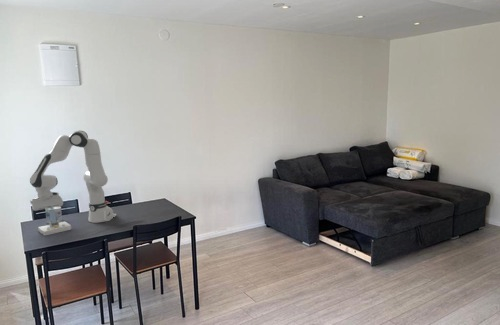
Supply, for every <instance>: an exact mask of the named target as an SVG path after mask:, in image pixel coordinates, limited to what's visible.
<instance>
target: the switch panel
mask: <svg viewBox="0 0 500 325" xmlns="http://www.w3.org/2000/svg"><path fill="white" fill-rule="evenodd" d="M56 222H57V225H55V226H52V223H51V222H49V223H48V224H46V225H42V226H37V228H38V232H39V233H40V234H42V235H43V236H49V235H53V234H57V233H62V232H67V231H71V230H72V225H71V224H70V223H68V222H66V221H62V222H59V221H58V220H57V221H56Z"/></svg>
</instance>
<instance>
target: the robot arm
mask: <svg viewBox="0 0 500 325" xmlns="http://www.w3.org/2000/svg"><path fill="white" fill-rule="evenodd" d="M88 136H89V135H88V133H87V132H85V131H84V130H76V131H73V133H71V134H70V135H66V134H62V135H60V136H59V137H58V138H57V139H56V140H55V143H54V145H53V148H52V150H50V152H49V153H47V154H45V155H44V157H43V158H42V160H41V161H40V163H39V165H38V166H37V168H36V170H35V171H34V173H32V175H31V176H30V178H29V183H30V185H31V186H32V187H33V188H35V192H36V193H37V197H36V198H32V199H30V200H29V201H30V205H31V206H32V207H31V208H32V210H33V211H34V212H35V211H41V210H45V212H46V211H48V213H49V211H53V210H52V209H53V207H59V206H60V207H62V206H63V205H64V200H63V198H62V197H61V195H59V192H55V191H51V190H53V189H54V188H56V186H58V183H59V182H58V178H57V176H55V175H54V174H53V175H52V174H45V172H46V171H47V169H48V167H49V166H50V165H51V164H55V163H59V162H64V161H65V160H66V159H67V157H68V156H69V155H70V151H71V149H72V148H73V147H78V148H83V152H84V159H85V165H86V167H87V169H88V170H87V171H85V172H84V174H83V180H84V182H85V185H86V189H87V192H88V200H89V203H88V208H89V209H88V218H87V220H88V222H89V223H93V224H95V223H103V222H108V221H111V220H112V219H114V218H115V217H117V213H114V210H113V209H112V208H111V207H110V206H108V205H107V204H109V202H110V201H107V200H106V199H105V191H104V190H103V187H104V186H105V185H107V184H108V176H107V175H106V173H105V170H104V167H103V164H102V155H101V149H100V144H99V142H98V141H97V140H96V139H93V138H89V137H88ZM48 208H51V210H48ZM113 217H114V218H113Z"/></svg>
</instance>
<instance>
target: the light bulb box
mask: <svg viewBox="0 0 500 325" xmlns="http://www.w3.org/2000/svg"><path fill="white" fill-rule="evenodd" d="M48 210H51V208H48ZM52 210H53V211H54V212H55V217H56V221H57V220H58V221H59V223H60V222H63V218H62V206H58V207H53V209H52ZM45 218H46V219H45V220H46V225H49V222H51V219H50V214H49V213H48V211H46V210H45Z"/></svg>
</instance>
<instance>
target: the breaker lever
mask: <svg viewBox="0 0 500 325" xmlns="http://www.w3.org/2000/svg"><path fill="white" fill-rule="evenodd" d="M49 214H50V219H51V223H52V226H55V225H57V222H56V217H55V212H54V211H49Z"/></svg>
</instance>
